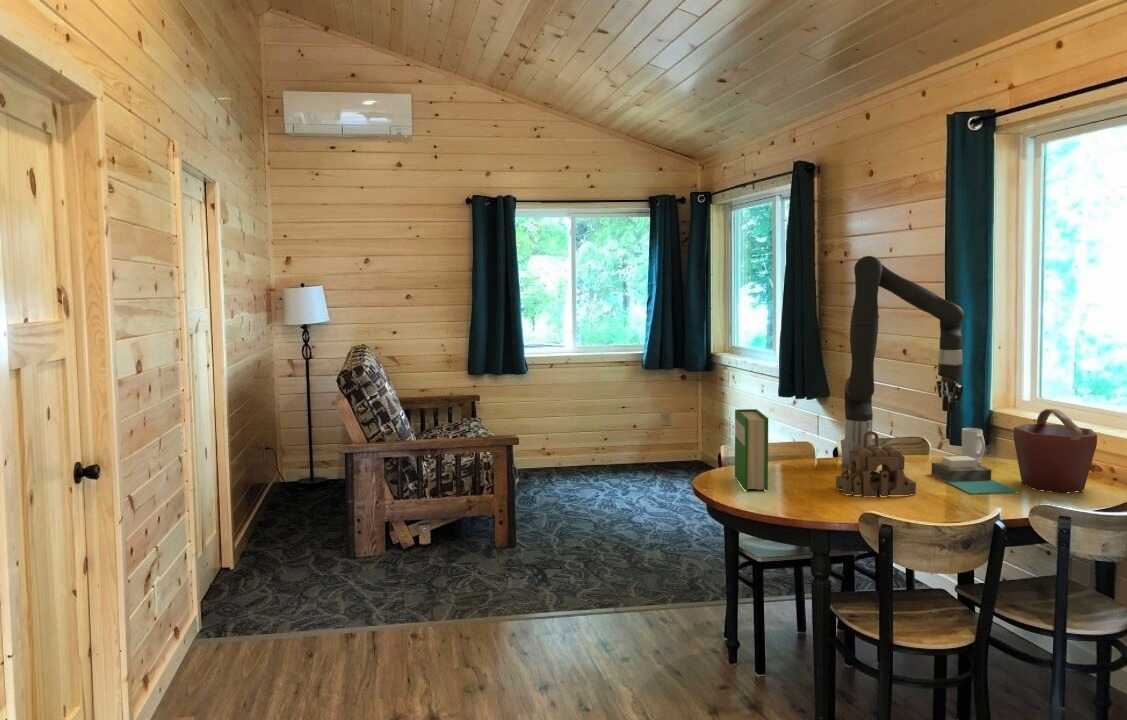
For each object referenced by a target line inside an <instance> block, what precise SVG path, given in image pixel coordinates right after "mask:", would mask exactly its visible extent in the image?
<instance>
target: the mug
mask: <svg viewBox="0 0 1127 720" xmlns="http://www.w3.org/2000/svg"><path fill="white" fill-rule="evenodd" d="M983 434H984V432H983V429H981V428H975V427H964V428H961V456H969V457H972V458H974V459H976V460H978V463H979V464H980V463H982V458H983V456H984V453H985V448H986V443H985V438H984V435H983Z"/></svg>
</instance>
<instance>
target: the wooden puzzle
mask: <svg viewBox="0 0 1127 720" xmlns="http://www.w3.org/2000/svg"><path fill="white" fill-rule="evenodd" d="M870 434H872V436H874V444H872V445H871V446H868V448H867V436H868V435H870ZM905 460H906V459H905V455H903V453H902V451H901V450H899V449H897V448H895V447H893V446H891V445H890V444H889V445H888V444H885V445H882V446H881V447H879V435H878V433H877V432H875V431H873V430H872V431H869V432H866V433H865V434H864V436H863V447H862V446H860V445H857V446H854V447H853V449H852V451H849V463H850V468H848V467H846V468H843V470H842V471H841V473H840V475H836V476H835V488H836V487H837V488H838V489H842V490H841V491H842V494H843V493H844V494H852V492H853V494H854V495H861V494H862V495H863V496H876V495H877V496H879V495H881V496H888V495H910V494H917V492H916V491H917V490H916V489H917V482H916V481H914V480H912V479H911V478H909V477H907V476H906V474H905V472H904V471H905ZM880 466H881V470H879V472H878V471H877V470H878V468H879V467H880ZM877 491H878V492H877ZM853 494H852V495H853ZM910 496H911V495H910ZM888 497H889V496H888Z"/></svg>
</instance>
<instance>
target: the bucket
mask: <svg viewBox="0 0 1127 720" xmlns="http://www.w3.org/2000/svg"><path fill="white" fill-rule="evenodd" d="M1051 414H1053V415H1054V416H1055V417H1056V418H1057V419H1058V420H1059V421H1060V422H1061V423H1062V424H1058V423H1057V424H1055V423H1053V424H1051V423H1047V420H1048V419H1049V416H1050V415H1051ZM1013 442H1014V447H1015V452H1016V458H1017V459H1016V460H1017V464H1018V470H1019V475H1020V480H1021V485H1022V484H1024V485H1023V486H1025V485H1027V486H1029V487H1031V488H1034V489H1036V490H1044V491H1052V492H1059V493H1067V492H1075V491H1082V490H1084V491H1085V488H1086V484H1087V480H1088V477H1089V473H1090V470H1091V466H1092V464H1093V463H1092V462H1093V458H1094V456H1095V453H1096V449H1097V445H1098V435H1097V433H1096V432H1095V431H1094V430H1093V429H1091V428H1086V427H1079V426H1078V425H1077V424H1076V423H1074V422H1073V420H1072V419H1071V418H1070V417H1068V416H1067V415H1066V414H1065V413H1064V412H1063V411H1061V410H1060V409H1056V408H1045V409H1044V410H1042V411H1040V412H1039V414H1038V415H1037V419H1036V423H1025V424H1022V425H1019V426H1015V427H1013ZM1027 486H1026V487H1027ZM1029 487H1028V488H1029ZM1031 488H1030V489H1031ZM1034 489H1033V490H1034ZM1036 490H1035V491H1036ZM1044 491H1043V492H1044ZM1052 492H1051V493H1052ZM1059 493H1058V494H1059Z"/></svg>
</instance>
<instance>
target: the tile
mask: <svg viewBox="0 0 1127 720" xmlns="http://www.w3.org/2000/svg"><path fill="white" fill-rule="evenodd" d="M941 462H942V464H943V465H945V466H948V467H950V468H970V467H977V463H978V460H976V459H974V458H972V457H969V456H962V455H957V456H956V455H955V456H952V455H951V456H941Z"/></svg>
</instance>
